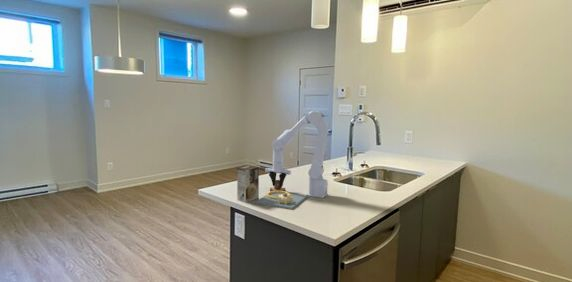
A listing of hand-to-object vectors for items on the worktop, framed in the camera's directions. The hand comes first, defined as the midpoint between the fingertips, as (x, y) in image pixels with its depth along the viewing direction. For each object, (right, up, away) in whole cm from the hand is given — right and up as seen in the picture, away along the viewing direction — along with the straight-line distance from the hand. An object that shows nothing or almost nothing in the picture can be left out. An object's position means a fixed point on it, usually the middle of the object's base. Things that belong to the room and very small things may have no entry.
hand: (277, 186), depth 170 cm
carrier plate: (+2, -5, -17) cm, 18 cm away
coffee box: (-14, -5, -15) cm, 21 cm away
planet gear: (0, -3, 0) cm, 3 cm away
